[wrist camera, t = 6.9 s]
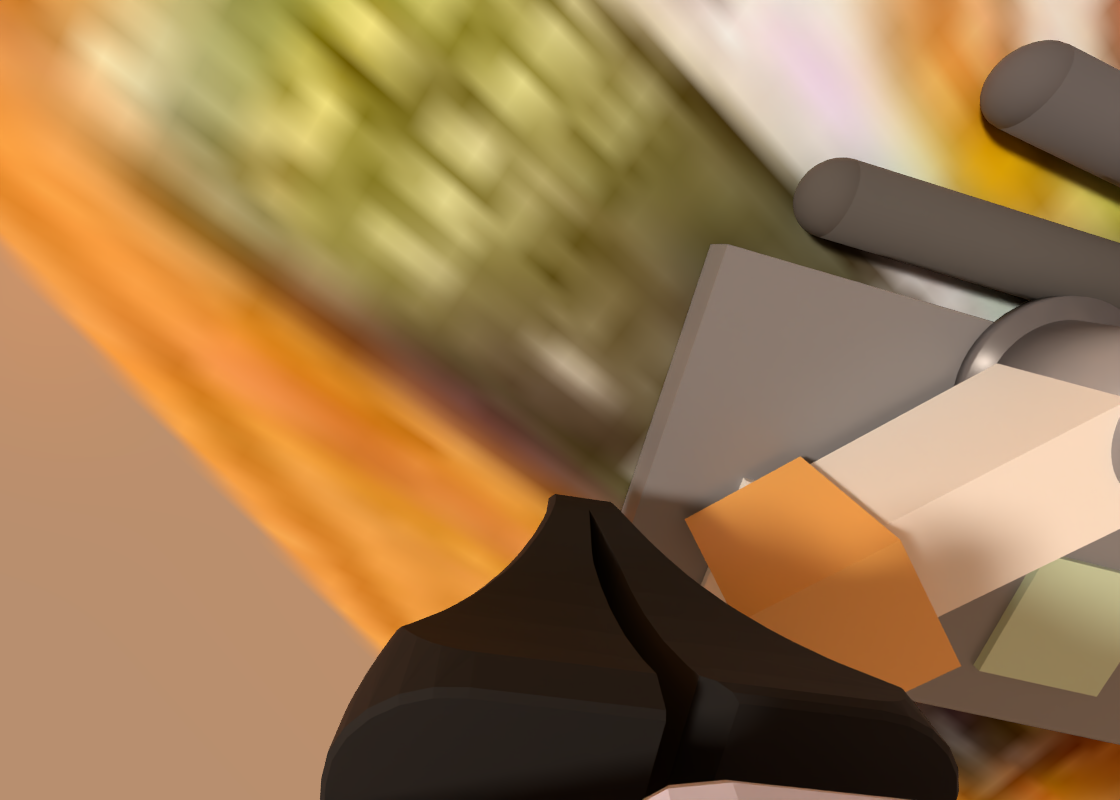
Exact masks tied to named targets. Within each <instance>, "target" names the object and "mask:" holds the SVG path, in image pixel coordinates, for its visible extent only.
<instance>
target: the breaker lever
mask: <svg viewBox="0 0 1120 800" xmlns="http://www.w3.org/2000/svg"><path fill="white" fill-rule="evenodd" d="M685 521H686V523H687V525H688V527H689V529H690V531H691V533H692V535H693V537H694V539H695V541H696V543H697V545H698V547H699V549H700V551H701V553H702V555H703V557H704V559H705V561H706V563H707V565H708V567H709V569H710V571H711V572H712V574H713V576H714V578H715V580H716V582H717V584H718V586H719V588H720V590H721V592H722V594H723V596H724V598H725V600H726V602H727V604H728V605H730V606H731V607H733V608H735V609H736V610H738V611H739V612H741V613H743V614H744V615H746V616H748V617H749V618H751V619H753V620H755V621H756V622H758V623H760V624H761V625H763V626H765V627H766V628H768V629H770V630H772V631H774V632H776V633H778V634H780V635H781V636H783V637H785V638H787V639H789V640H791V641H793V642H795V643H797V644H799V645H801V646H803V647H805V648H808V649H810V650H812V651H814V652H816V653H818V654H820V655H822V656H824V657H826V658H829V659H831V660H833V661H836V662H838V663H841V664H843V665H846V666H848V667H851V668H853V669H856V670H858V671H861V672H863V673H866V674H868V675H871V676H873V677H876V678H878V679H881V680H883V681H886V682H888V683H891V684H893V685H896V686H898V687H901V688H902V689H903V690H904V691H905V692H907V691H909V690H911V689H913V688H915V687H918V686H920V685H922V684H924V683H926V682H928V681H930V680H932V679H935V678H937V677H939V676H941V675H943V674H945V673H947V672H949V671H952V670H954V669H956V668H958V667H960V666H961V664H960V662H959V660H958V658H957V656H956V654H955V652H954V650H953V648H952V646H951V644H950V642H949V640H948V637H947V635H946V633H945V631H944V629H943V627H942V625H941V623H940V621H939V619H938V617H939V616H941V615H943V614H945V613H948V612H950V611H952V610H954V609H956V608H958V607H960V606H962V605H964V604H966V603H968V602H970V601H972V600H974V599H976V598H978V597H981V596H983V595H985V594H987V593H989V592H991V591H993V590H995V589H997V588H999V587H1001V586H1003V585H1005V584H1007V583H1009V582H1011V581H1013V580H1016V579H1018V578H1020V577H1022V576H1024V575H1026V574H1028V573H1030V572H1032V571H1034V570H1036V569H1038V568H1040V567H1042V566H1044V565H1046V564H1049V563H1051V562H1053V561H1055V560H1057V559H1059V558H1061V557H1063V556H1065V555H1067V554H1069V553H1071V552H1073V551H1075V550H1077V549H1079V548H1081V547H1084V546H1086V545H1088V544H1090V543H1092V542H1094V541H1096V540H1098V539H1100V538H1102V537H1104V536H1106V535H1108V534H1110V533H1112V532H1114V531H1117V530H1119V529H1120V326H1113V325H1107V324H1100V323H1093V322H1086V321H1079V320H1063V321H1056V322H1052V323H1048V324H1045V325H1043V326H1040V327H1038V328H1036V329H1034V330H1032V331H1030V332H1029V333H1027V334H1025V335H1024V336H1022V337H1021V338H1020V339H1018V340H1017V341H1016V342H1015V343H1014V344H1013V345H1012V346H1010V347H1009V348H1008V350H1007V351H1006V352H1005V353H1004V354H1003V355H1002V357H1001V358H1000V359H999V361H998V362H997V364H995V365H993V366H991V367H989V368H987V369H985V370H984V371H982V372H980V373H978V374H976V375H974V376H972V377H971V378H969V379H967V380H965V381H963V382H961V383H959V384H958V385H956V386H954V387H952V388H950V389H948V390H947V391H945V392H943V393H941V394H939V395H937V396H935V397H934V398H932V399H930V400H928V401H926V402H924V403H922V404H921V405H919V406H917V407H915V408H913V409H911V410H910V411H908V412H906V413H904V414H902V415H900V416H898V417H897V418H895V419H893V420H891V421H889V422H887V423H885V424H884V425H882V426H880V427H878V428H876V429H874V430H872V431H871V432H869V433H867V434H865V435H863V436H861V437H860V438H858V439H856V440H854V441H852V442H850V443H848V444H847V445H845V446H843V447H841V448H839V449H837V450H835V451H834V452H832V453H830V454H828V455H826V456H824V457H823V458H821V459H819V460H817V461H815V462H813V463H811V464H809V463H808V462H807V461H805V460H804V459H803V458H802V457H801V456H800V457H798V458H796V459H794V460H793V461H791V462H789V463H787V464H785V465H783V466H782V467H780V468H778V469H776V470H774V471H772V472H771V473H769V474H767V475H765V476H763V477H761V478H760V479H758V480H756V481H754V482H752V483H750V484H748V485H747V486H745V487H743V488H741V489H739V490H737V491H736V492H734V493H732V494H730V495H728V496H726V497H725V498H723V499H721V500H719V501H717V502H715V503H714V504H712V505H710V506H708V507H706V508H704V509H702V510H701V511H699V512H697V513H695V514H693V515H691V516H690V517H688V518H686V519H685Z"/></svg>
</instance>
